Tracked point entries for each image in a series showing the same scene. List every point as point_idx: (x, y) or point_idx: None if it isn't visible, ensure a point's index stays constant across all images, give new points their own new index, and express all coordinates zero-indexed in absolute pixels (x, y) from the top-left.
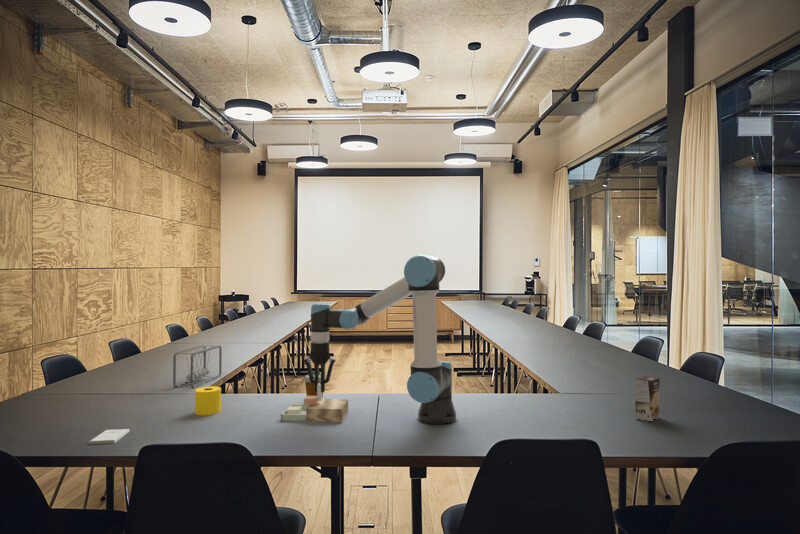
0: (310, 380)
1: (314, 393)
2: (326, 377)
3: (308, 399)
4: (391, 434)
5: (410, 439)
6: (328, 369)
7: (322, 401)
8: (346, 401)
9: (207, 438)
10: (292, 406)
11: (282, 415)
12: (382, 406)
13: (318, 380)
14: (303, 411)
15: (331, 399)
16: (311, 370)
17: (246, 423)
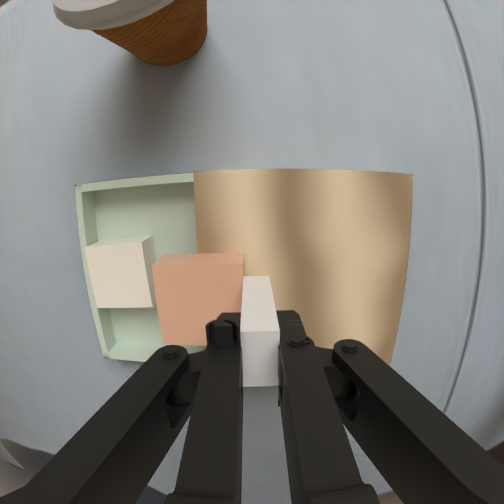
0: (168, 408)
1: (158, 45)
2: (349, 426)
3: (192, 343)
4: (475, 399)
5: (493, 409)
6: (399, 491)
7: (262, 238)
8: (409, 226)
9: (48, 443)
10: (97, 251)
11: (111, 356)
12: (487, 105)
13: (240, 364)
14: (154, 218)
15: (313, 181)
16: (133, 461)
17: (38, 361)
